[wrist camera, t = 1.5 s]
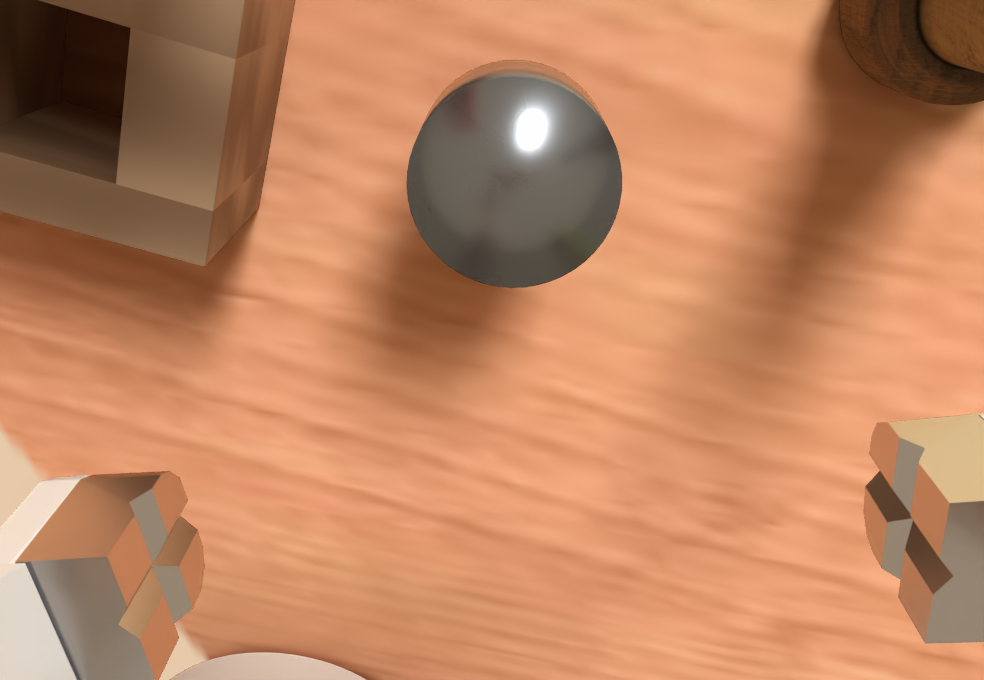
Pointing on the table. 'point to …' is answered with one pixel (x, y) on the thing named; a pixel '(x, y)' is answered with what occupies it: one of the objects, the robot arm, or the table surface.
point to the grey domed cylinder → (514, 175)
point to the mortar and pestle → (919, 46)
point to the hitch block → (144, 122)
